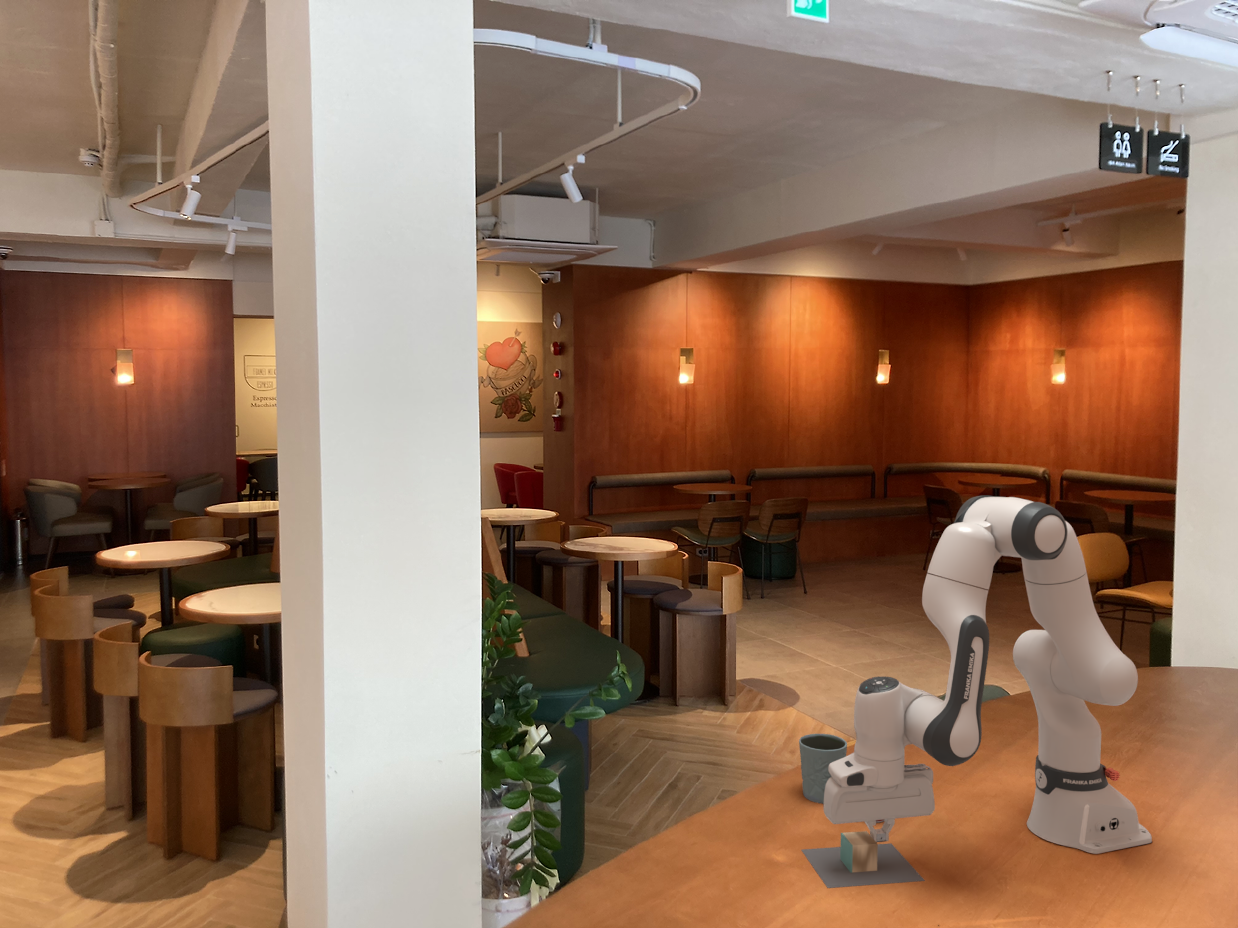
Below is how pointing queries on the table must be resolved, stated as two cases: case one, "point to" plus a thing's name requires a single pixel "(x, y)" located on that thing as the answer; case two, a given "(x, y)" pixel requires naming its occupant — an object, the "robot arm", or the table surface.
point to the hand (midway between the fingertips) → (879, 840)
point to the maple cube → (858, 851)
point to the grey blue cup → (818, 762)
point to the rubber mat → (837, 874)
